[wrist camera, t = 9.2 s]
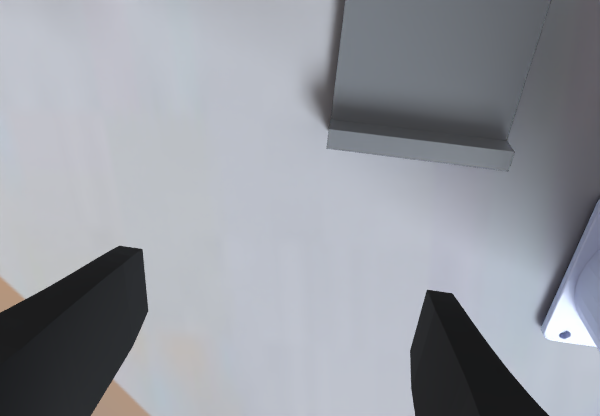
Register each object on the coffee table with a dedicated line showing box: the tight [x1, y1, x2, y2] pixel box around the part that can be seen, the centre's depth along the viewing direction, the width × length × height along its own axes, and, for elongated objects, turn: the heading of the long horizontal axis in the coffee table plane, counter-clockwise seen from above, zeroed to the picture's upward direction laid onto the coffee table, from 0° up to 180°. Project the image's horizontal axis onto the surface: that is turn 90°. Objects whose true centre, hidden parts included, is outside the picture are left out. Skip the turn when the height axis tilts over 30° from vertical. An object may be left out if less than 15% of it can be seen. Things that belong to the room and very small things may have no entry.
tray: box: [326, 0, 551, 171], centre depth 17 cm, size 7×8×2 cm
